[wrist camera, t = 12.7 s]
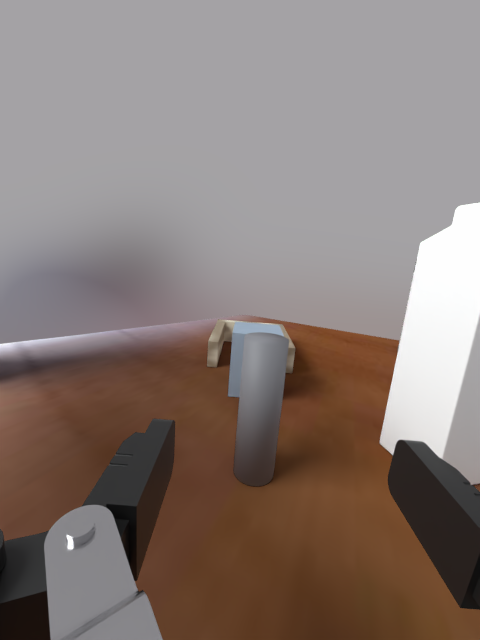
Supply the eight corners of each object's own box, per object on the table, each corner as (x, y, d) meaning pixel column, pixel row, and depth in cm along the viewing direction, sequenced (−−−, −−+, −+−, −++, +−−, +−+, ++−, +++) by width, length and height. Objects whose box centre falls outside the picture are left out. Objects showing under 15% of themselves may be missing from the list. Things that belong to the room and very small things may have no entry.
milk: (427, 438, 29) (483, 211, 24) (491, 484, 23) (580, 198, 19) (377, 443, 27) (427, 201, 23) (432, 493, 22) (514, 184, 17)
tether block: (213, 482, 21) (222, 341, 19) (231, 376, 40) (237, 299, 38) (293, 490, 21) (313, 348, 19) (273, 379, 40) (281, 303, 38)
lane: (206, 366, 43) (208, 341, 42) (217, 338, 58) (218, 319, 57) (292, 373, 43) (295, 348, 42) (280, 343, 58) (282, 324, 57)
